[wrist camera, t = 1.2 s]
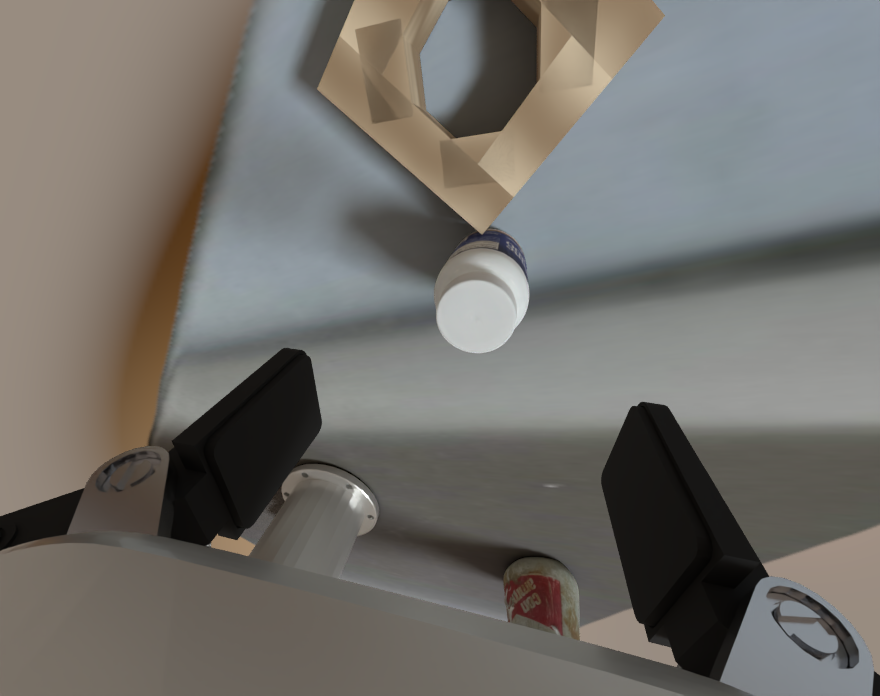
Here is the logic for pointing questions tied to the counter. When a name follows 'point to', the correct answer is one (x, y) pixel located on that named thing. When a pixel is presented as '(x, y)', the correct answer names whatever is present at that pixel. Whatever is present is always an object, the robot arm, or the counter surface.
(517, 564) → the bottle
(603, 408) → the counter surface
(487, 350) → the pill bottle
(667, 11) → the counter surface
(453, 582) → the counter surface
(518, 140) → the collar
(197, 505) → the robot arm
